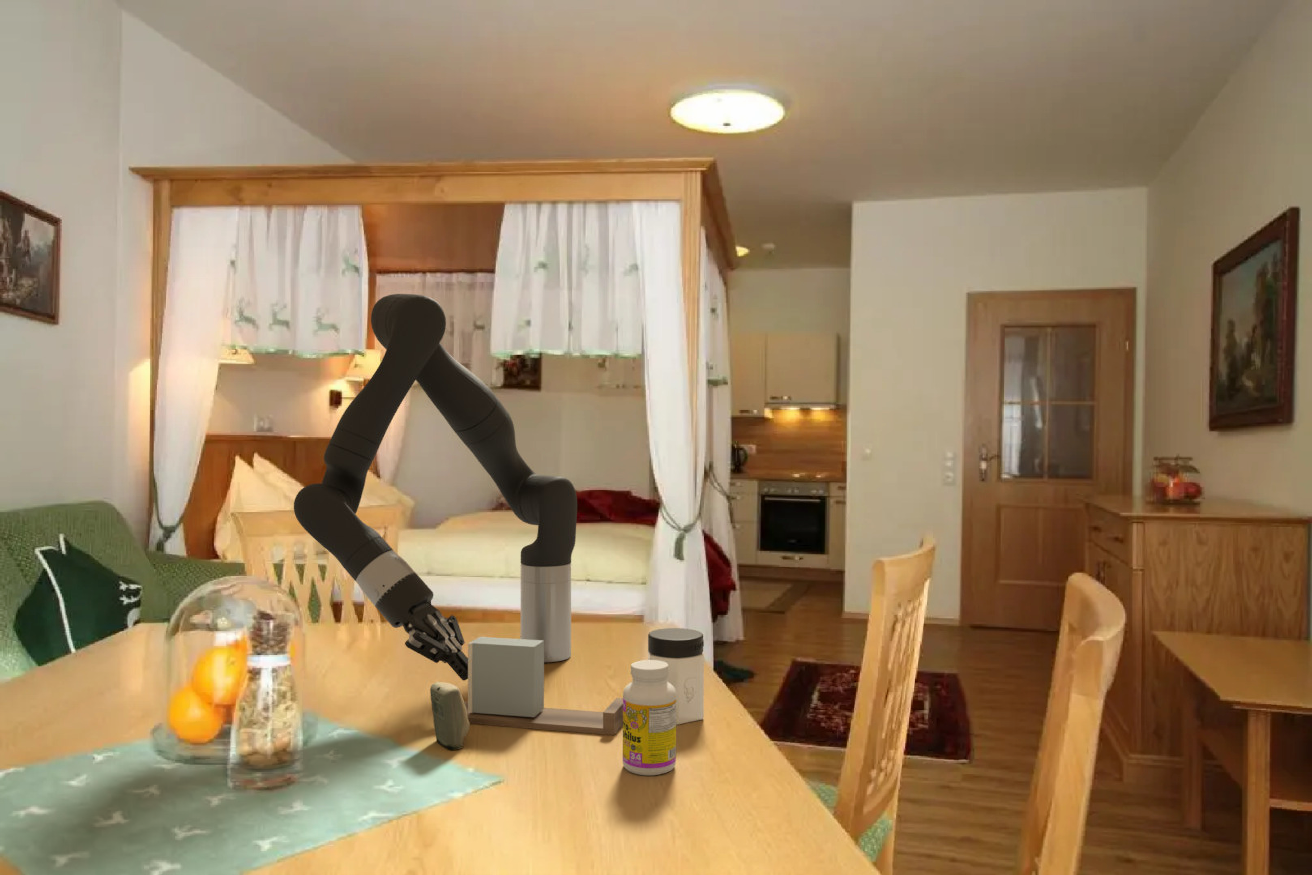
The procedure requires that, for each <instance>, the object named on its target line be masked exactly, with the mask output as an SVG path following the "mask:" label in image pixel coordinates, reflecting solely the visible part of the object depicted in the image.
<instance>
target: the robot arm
mask: <svg viewBox="0 0 1312 875" xmlns="http://www.w3.org/2000/svg"><path fill="white" fill-rule="evenodd" d="M446 319H447V318H446V314H445V312H444V309H443V308H442V306H441V305H440V303H439V302H438V301H436V299H434V298H432V297H429V296H427V295H423V294H413V293H412V294H411V293H393V294H392V293H391V294H388V295H386V296H383V297H381V298H380V299H378V300H377V301H376V302H375V304H374V306H373V307H372V310H371V314H370V324H371V329H372V332H373V334H374V336H375V338H376V340H377V341H378V342H379V343H380V344H381V346H383V348H384V350H385V352H384V354H383V356H382V357H383V358H382V360H381V361H380V363H379V365H378V367H377V369H376V370H375V371H374V373H373V375H372V376H371V377H370V379H369V380H368V381H367V383H366V384H365V385H364V387H362V389H361V390H360V391H359V392H358V394H356V396H355V397H354V399H353V400H352V401H351V402H350V403H349V405H348V406H347V407H346V409H345V410H344V411H343V413H342V415H341V417H340V419H339V420H338V423H337V425H336V426H335V429H334V431H333V433H332V435H331V438H330V439H329V441H328V444H327V446H326V449H325V452H324V454H323V461H324V464H325V466H326V468H325V472H324V476H323V479H322V481H321V483H320V482H319V483H311V484H308V485H305V486H304V487H303V488H302V489H300V490H299V491H298V492H297V494H296V495H295V498H294V501H293V513H294V515H295V518H296V519H297V521H298V523H299V524H300V525H301V527H302V528H303V529H304V531H306V532H307V534H309V535H310V536H311V537H312V538H313V539H314V540H315V541H316V542H317V543H319V545H321V546H322V547H323V548H324V549H326V550H327V551H328V552H329V553H330V554H332V555H333V557H334V558H336V560H337V561H338V563H340V565H341V566H342V568H343V569H344V570H345V571H346V573H348V574H349V575H350V577H351V578H352V580H354V581H355V583H356V585H358V586H359V588H360V590H361V591H362V593H363V594H364V595H365V597H366V598H367V599H368V600H369V601H370V603H371V604H372V605H373V606H374V607H375V608H376V609H377V610H378V612H379V613H380V615H382V616H383V617H384V619H385V620H386V621H387V622H388V624H390V626H391V627H392V628H395V629H398V628H401V627H403V629H404V631H405V633H407V634H408V639H407V640H406V641H405V642H404V645H405V647H406V648H408V649H410V650H411V651H414V653H417V654H419V655H420V656H422V657H425V658H427V659H428V660H430V661H432V662H434V663H436V664H438V663H439V662H440V661H441V663H444V664H448V666H450V668H451V669H452V670H453V671H454V673H455V674H456V675H457V676H458V677H459V678H460V680H462V681H466V680H467V681H468V656H466V654H465V653H464V651H462V650H463V645H465V642H466V641H465V639H464V637H463V634H462V630H461V627H460V625H459V622H458V620H457V617H456V616H455V615H454V614H451V615H450V616H449V617H446V616H444V615H443V614H442V612H441V611H440V610H439V609H437V607H435V606H434V605H432V600H433V599H434V592H433V590H432V589H430V587H429V586H428V584H426V582H425V581H424V580H423V579H422V578H421V577H420V576H419V575H418V574H417V572H416V571H415V570H414V569H413V568H412V567H411V566H410V564H408V563H407V561H406V560H405V559H404V558H403V557H402V556H400V555H399V554H398V553H397V552H396V551H395V550H394V549H393V548H392V547H391V546H390V544H389V543H388V542H387V541H386V540H385V539H384V538H383V536H381V535H380V534H379V532H377V531H376V530H375V529H374V528H373V527H371V526H369V525H367V524H366V523H365V522H363V521H362V520H361V519H360V518H359V517H358V515H357V512H358V509H359V506H360V503H361V500H362V495H363V493H364V488H365V484H366V480H367V475H368V472H369V470H370V467H371V465H372V464H373V461H374V459H375V458H376V455H377V453H378V451H379V448H380V446H381V444H382V443H383V439H384V437H385V435H386V432H387V430H388V428H389V427H390V425H391V423H392V420H393V419H394V417H395V415H396V413H397V412H398V409H399V408H400V406H401V404H402V402H403V401H404V399H405V398H406V396H407V394H408V393H409V392H410V390H411V388H412V386H413V384H414V383H415V381H416V382H417V383H418V385H419V386H420V387H421V389H422V390H423V392H424V393H425V394H426V396H427V397H428V398H429V400H430V401H431V402H432V404H433V406H435V408H436V409H437V410H438V412H439V413H440V414H441V416H443V418H444V419H445V420H446V422H447V424H448V425H449V427H450V428H451V429H452V431H453V432H454V433H455V434H456V436H457V437H458V438H459V439H460V440H461V442H462V443H463V444H464V445H465V447H467V449H469V451H470V452H471V453H472V454H473V456H474V457H475V459H476V460H477V461H478V462H479V464H480V465H481V467H483V469H484V470H485V471H486V473H487V474H488V475H489V476H490V478H491V479H492V480H493V482H494V483H495V485H496V487H497V488H498V490H499V491H500V493H501V495H502V496H503V498H504V499H505V502H506V503H507V505H508V506H509V508H510V509H511V511H512V512H513V514H514V515H515V517H517V518H518V519H519V520H521V521H522V522H523V523H524V524H528V525H533V526H537V534H536V538H535V540H534V541H533V542H532V543H530V544H528V545H525V546H524V547H522V548H521V550H520V638H519V639H527V640H544V663H553V662H554V663H555V662H561V661H566V660H568V659H570V658H571V656H572V556H573V555H572V554H573V552H574V549H575V546H576V537H577V535H576V534H577V521H578V520H577V517H578V498H577V492H576V489H575V486H574V484H573V483H572V481H570V479H568V478H566V477H564V476H559V475H558V476H557V475H541V474H538V473H536V472H535V471H534V470H532V469H531V467H530V466H529V465H528V464H527V463H526V462H525V460H524V458H523V457H522V456H521V455H520V453H519V450H518V449H517V444H516V443H517V442H516V432H515V426H514V421H513V419H512V416H511V415H510V413H509V411H507V409H506V408H505V406H504V405H503V403H502V402H501V401H500V399H499V398H498V397H497V396H496V394H495V393H494V392H493V390H491V388H490V387H489V386H488V385H487V384H486V383H484V381H483V380H482V379H481V378H479V377H478V376H477V375H476V374H475V373H473V372H472V371H470V370H469V369H468V368H467V367H466V366H465V365H463V364H462V363H460V361H458V360H456V358H454V357H453V356H452V355H451V354H450V353H449V352H448V350H446V349H445V347H444V345H442V343H441V341H442V340H443V337H444V335H445V332H446V326H447V320H446Z"/></svg>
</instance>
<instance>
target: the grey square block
mask: <svg viewBox="0 0 1312 875" xmlns="http://www.w3.org/2000/svg"><path fill="white" fill-rule="evenodd" d="M467 658H468V679H467V702H468V713H485V714H498V715H511V716H524V717H535V716H536V715H537V714H539V713H540V712H541V711H542V710H543V709H544V708H545V688H544V687H545V662H544V640H527V639H520V638H506V637H488V636H479V637H477V638H475V639H474V640H471V641H470V642H468V643H467Z"/></svg>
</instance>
